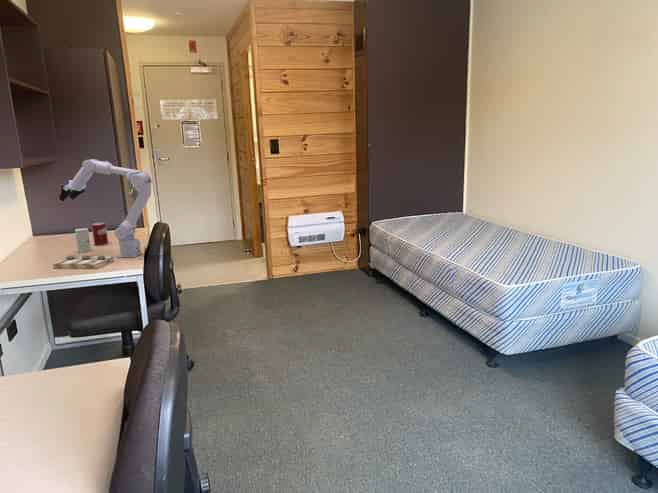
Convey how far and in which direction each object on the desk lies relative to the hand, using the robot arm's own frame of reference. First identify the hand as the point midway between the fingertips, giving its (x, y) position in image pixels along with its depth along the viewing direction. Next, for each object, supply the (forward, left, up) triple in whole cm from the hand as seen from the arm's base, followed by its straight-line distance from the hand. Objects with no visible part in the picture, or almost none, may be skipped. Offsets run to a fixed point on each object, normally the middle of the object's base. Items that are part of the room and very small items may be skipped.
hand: (66, 199), depth 241 cm
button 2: (-23, +13, -28) cm, 39 cm away
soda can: (+2, -25, -30) cm, 39 cm away
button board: (-15, +15, -30) cm, 37 cm away
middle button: (-15, +13, -28) cm, 34 cm away
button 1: (-7, +13, -28) cm, 32 cm away
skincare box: (+2, -10, -30) cm, 31 cm away
